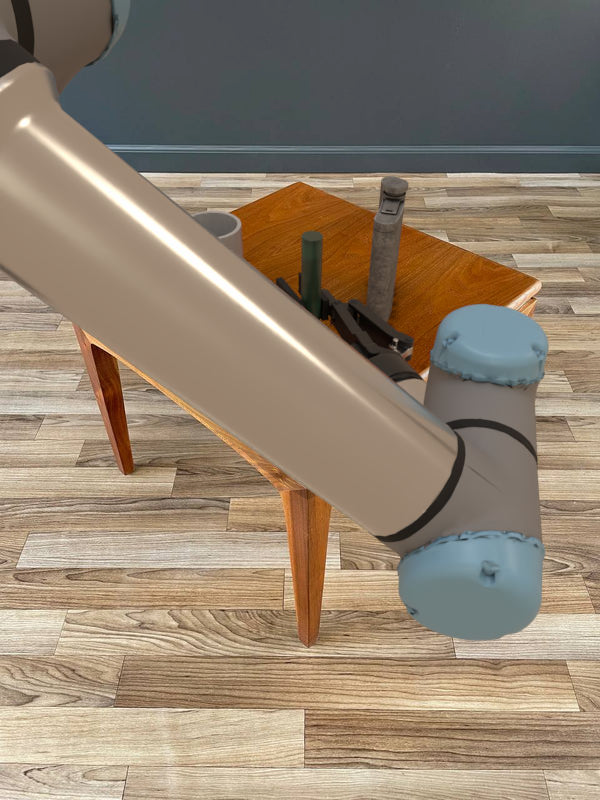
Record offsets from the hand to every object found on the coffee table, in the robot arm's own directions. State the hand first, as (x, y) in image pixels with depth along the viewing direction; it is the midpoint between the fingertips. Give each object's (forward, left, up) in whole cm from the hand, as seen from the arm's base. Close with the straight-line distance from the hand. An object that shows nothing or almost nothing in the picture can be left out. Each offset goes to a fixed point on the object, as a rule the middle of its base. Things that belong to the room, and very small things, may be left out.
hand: (290, 285), depth 75 cm
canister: (-13, +18, -11) cm, 25 cm away
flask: (+12, +14, -11) cm, 22 cm away
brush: (+3, -5, -11) cm, 12 cm away
